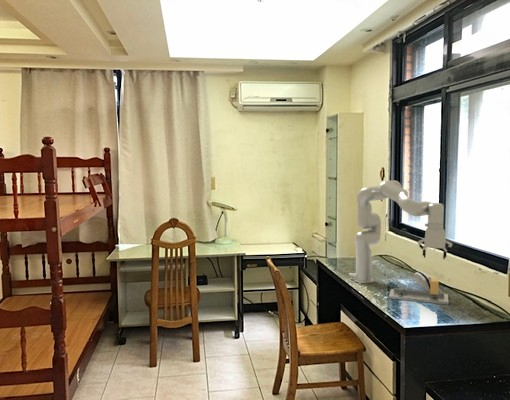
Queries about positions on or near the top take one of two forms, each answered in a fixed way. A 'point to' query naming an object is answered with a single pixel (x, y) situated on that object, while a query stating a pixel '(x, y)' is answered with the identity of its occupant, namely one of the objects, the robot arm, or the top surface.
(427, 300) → the hole plate
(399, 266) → the top surface
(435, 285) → the block
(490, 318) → the top surface
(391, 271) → the top surface
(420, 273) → the grey curved piece
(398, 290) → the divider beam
